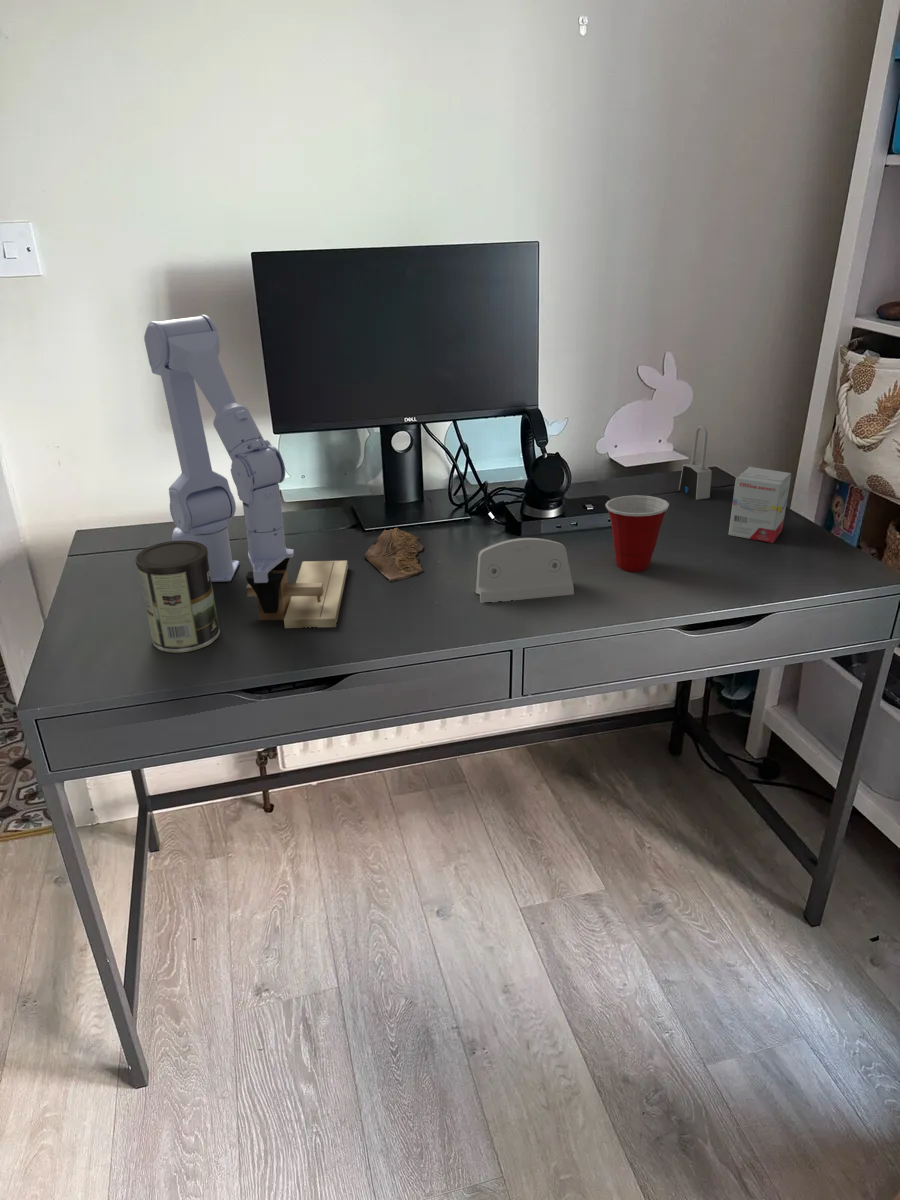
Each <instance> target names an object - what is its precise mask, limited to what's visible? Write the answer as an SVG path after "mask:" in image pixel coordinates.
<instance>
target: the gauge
mask: <svg viewBox="0 0 900 1200" xmlns="http://www.w3.org/2000/svg"><path fill="white" fill-rule="evenodd" d="M272 571H273V573H284V576H283V578H282V581H281V584H280V590H279V606H278V611H277V613H264V611H263V609H262V607H261V604H260V602H259V599H258V597H257V594H256V593H255V591H254V589H253V588H252V587H251V585H250V584H249V583H248V582H247V583H248V584H247V585H246V587H245V589H246V597H256V600H257V607H258V617H259V620H260V621H284V618H285V615H286V612H287V609H288V605H289V602H290V599H291V596H317V601H318V602H321V599H320V596H322V595H323V583H296V582H289V581H288V572H287V571H288V570H287V569H286V570H271V572H272Z"/></svg>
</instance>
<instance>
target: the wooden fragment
mask: <svg viewBox="0 0 900 1200" xmlns="http://www.w3.org/2000/svg"><path fill="white" fill-rule="evenodd" d="M419 540H420V537H418V536H415V535H414V534H411V533H410V532H409V531H408V532H406V531H405V530H401V529H399V528H398V527H396V528H394V529H390V530H385V529H384V530H383V531H382V532H381V533H380V535H379V536H378V537H377V538H376V539H375V540H374V542H372V544H371V545H370V547H369V548H368V550H367V551H366V552H365V554H364V556H363V559H366V560H367V561H368V563H370V564H371V565H372V566H373V567H375V568H376V569H377V571H378V572H380V574H381V575H383V577H385V578H387V579H388V583H391V582H390V581H392V582H396V581H395V580H397V581H402V580H401V579H403V580H406V579H408V578H411V577H413V576H417V575H418V574H420V573H424V569H423V568H422V565H421V564H420V563H419V559H420V558H419V557H417V555H418V554H420V553H421V552H422V551H423V549H424V545H422V543H421V542H420V541H419ZM405 578H406V579H405Z"/></svg>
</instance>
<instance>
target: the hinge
mask: <svg viewBox="0 0 900 1200" xmlns="http://www.w3.org/2000/svg"><path fill="white" fill-rule="evenodd" d="M474 572H475V573H474V587H473V589H474V591H473V593H475V594H477V595H479V602H481V603H482V604H484V603H483V602H492V603H499V602H498V601H502V602H511V600H513V601H521V600H530V599H531V600H532V599H542V598H550V597H551V598H554V597H561V596H571V595H575V590H574V583H573V580H572V579H573V578H572V575H571V570H570V564H569V559H568V553H567V548H566V547H565V545H564V544H562V543H561V542H558V541H555V540H554V541H553V540H550V539H546V538H539V537H538V538H537V537H517V538H509V539H506V540H505V539H504V540H501V541H498V542H495V543H492V544H489V545H488V546H485V547H482V548H480V549H479V550H477V553H476V554H475V571H474ZM481 603H480V604H481Z"/></svg>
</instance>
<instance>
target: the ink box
mask: <svg viewBox="0 0 900 1200" xmlns="http://www.w3.org/2000/svg"><path fill="white" fill-rule="evenodd" d="M791 479H792V473H791V472H786V471H779V470H772V469H767V468H760V467H754V466H747V468H745V469H744V470H743V471H742V472H740V473H739V474H738V475H737V476H736V478H735V481H734V489H733V490H734V491H733V496H732V497H733V498H732V504H731V512H730V513H731V514H730V520H729V527H728V528H729V529H728V536H731V537H732V536H733V537H737V538H742V539H743V538H744V539H750V540H755V541H762V542H766V543H771V544H773V543H774V542H775V541H776V539H777V538H778V537H779V536H780V534H781V533H782V531H783V527H784V526H783V525H784V520H785V516H786V509H787V503H788V498H789V497H788V496H789V491H790V486H791V485H790V484H791Z"/></svg>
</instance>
